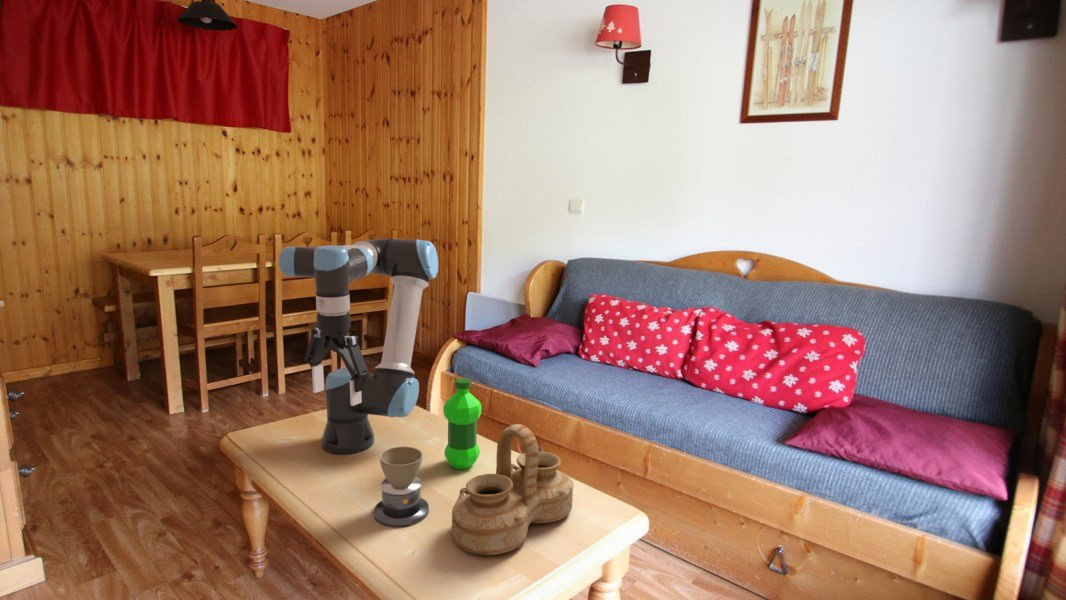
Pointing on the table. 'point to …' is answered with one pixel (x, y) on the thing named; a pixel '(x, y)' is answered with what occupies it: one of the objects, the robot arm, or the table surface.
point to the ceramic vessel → (511, 497)
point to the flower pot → (401, 465)
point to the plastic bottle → (462, 426)
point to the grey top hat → (401, 505)
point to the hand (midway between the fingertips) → (336, 397)
